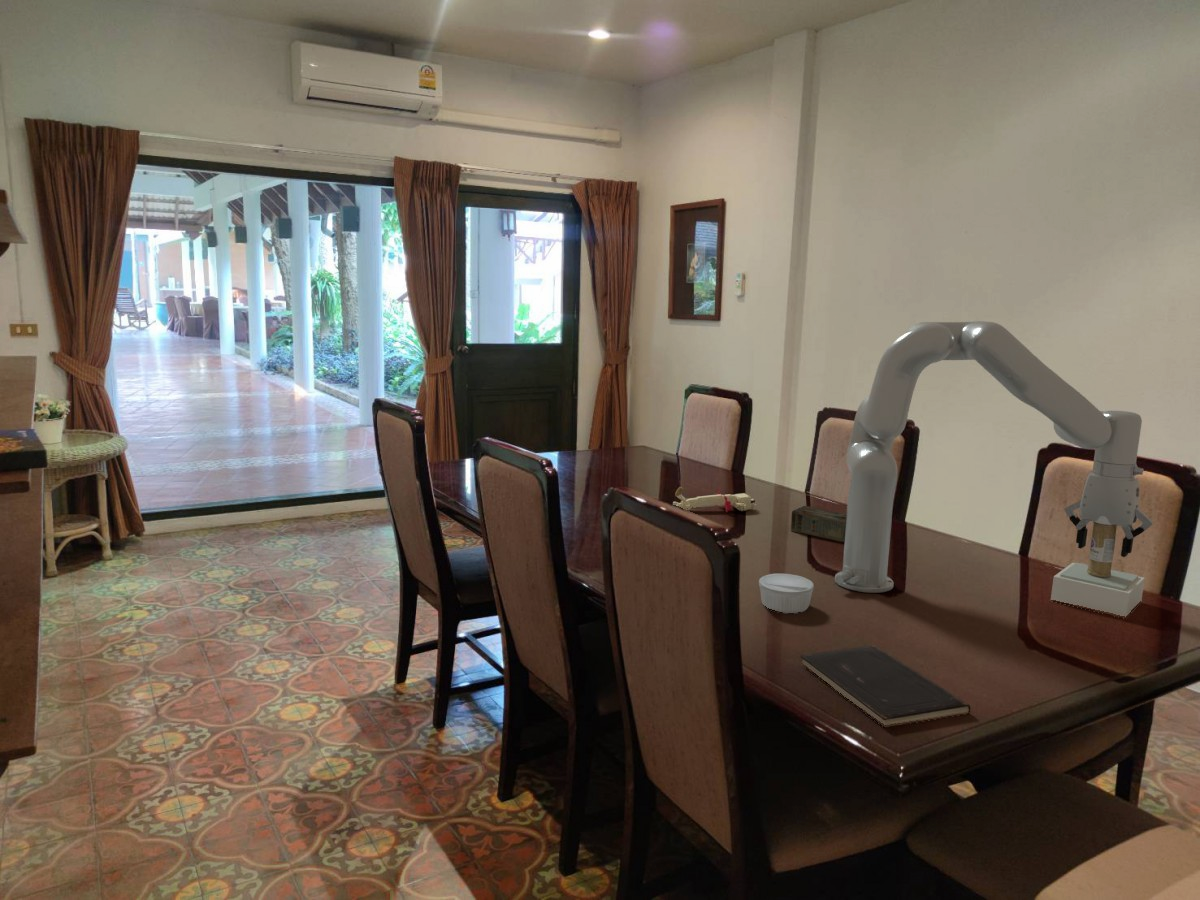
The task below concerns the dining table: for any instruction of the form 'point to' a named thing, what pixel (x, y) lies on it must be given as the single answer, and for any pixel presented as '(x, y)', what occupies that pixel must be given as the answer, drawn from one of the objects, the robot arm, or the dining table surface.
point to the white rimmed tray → (1098, 589)
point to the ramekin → (785, 592)
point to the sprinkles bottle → (1102, 548)
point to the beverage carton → (819, 523)
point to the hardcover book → (883, 685)
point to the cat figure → (716, 501)
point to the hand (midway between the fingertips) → (1102, 550)
